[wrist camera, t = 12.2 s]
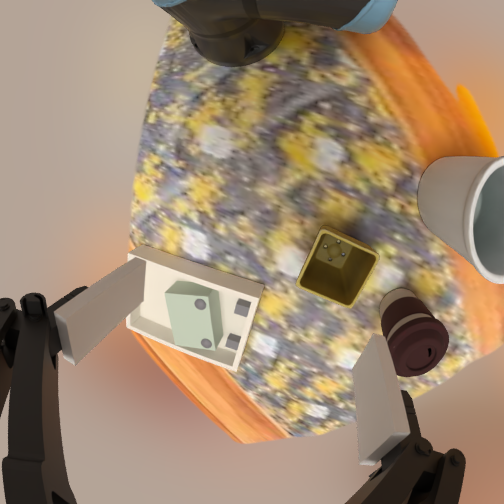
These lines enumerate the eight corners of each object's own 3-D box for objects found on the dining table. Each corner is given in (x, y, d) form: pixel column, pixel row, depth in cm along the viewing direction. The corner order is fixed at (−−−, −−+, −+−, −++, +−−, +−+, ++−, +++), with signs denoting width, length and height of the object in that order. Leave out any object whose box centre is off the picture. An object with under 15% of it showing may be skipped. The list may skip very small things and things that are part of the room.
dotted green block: (176, 280, 50) (163, 293, 45) (217, 283, 49) (207, 297, 44) (185, 330, 54) (174, 345, 49) (223, 335, 52) (215, 351, 47)
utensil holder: (488, 163, 33) (553, 174, 16) (475, 246, 38) (531, 287, 21) (419, 144, 35) (476, 140, 19) (408, 235, 40) (454, 280, 24)
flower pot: (297, 262, 46) (293, 286, 37) (319, 214, 42) (321, 228, 34) (345, 282, 45) (351, 310, 37) (369, 236, 42) (381, 255, 33)
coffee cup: (364, 324, 47) (376, 381, 33) (382, 274, 43) (407, 323, 29) (409, 332, 45) (431, 386, 31) (430, 286, 42) (464, 333, 28)
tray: (142, 244, 51) (127, 252, 46) (264, 284, 48) (259, 298, 43) (138, 315, 57) (126, 327, 52) (242, 355, 54) (236, 371, 50)
